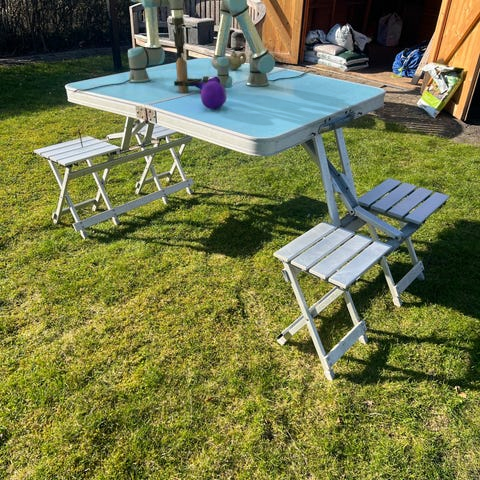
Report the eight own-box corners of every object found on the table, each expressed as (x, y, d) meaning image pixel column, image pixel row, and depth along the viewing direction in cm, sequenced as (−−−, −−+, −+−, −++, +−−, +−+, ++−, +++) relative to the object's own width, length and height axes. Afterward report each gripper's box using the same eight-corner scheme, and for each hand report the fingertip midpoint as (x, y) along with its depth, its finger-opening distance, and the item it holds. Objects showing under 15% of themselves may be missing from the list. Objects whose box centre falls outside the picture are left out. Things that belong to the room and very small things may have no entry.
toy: (213, 100, 281) (226, 115, 260) (186, 95, 274) (197, 111, 253) (219, 74, 273) (233, 88, 252) (191, 69, 266) (203, 83, 245)
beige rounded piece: (226, 72, 363) (226, 52, 355) (220, 70, 372) (219, 50, 364) (249, 69, 372) (249, 50, 365) (242, 67, 381) (241, 48, 373)
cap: (185, 56, 294) (184, 53, 293) (180, 57, 292) (180, 54, 291) (180, 56, 296) (180, 53, 295) (176, 57, 294) (176, 53, 293)
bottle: (190, 91, 306) (188, 54, 294) (183, 93, 301) (180, 55, 289) (183, 90, 310) (180, 53, 298) (176, 92, 305) (172, 54, 293)
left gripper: (176, 16, 290) (180, 55, 302) (166, 18, 276) (170, 59, 288) (187, 16, 288) (190, 55, 300) (178, 18, 274) (181, 59, 286)
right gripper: (207, 91, 294) (172, 91, 296) (211, 85, 311) (179, 85, 313) (206, 79, 290) (171, 79, 292) (211, 73, 307) (178, 73, 309)
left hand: (180, 57), depth 294 cm, fingers closed on cap, 4 cm apart
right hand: (175, 82), depth 303 cm, fingers closed on bottle, 7 cm apart
